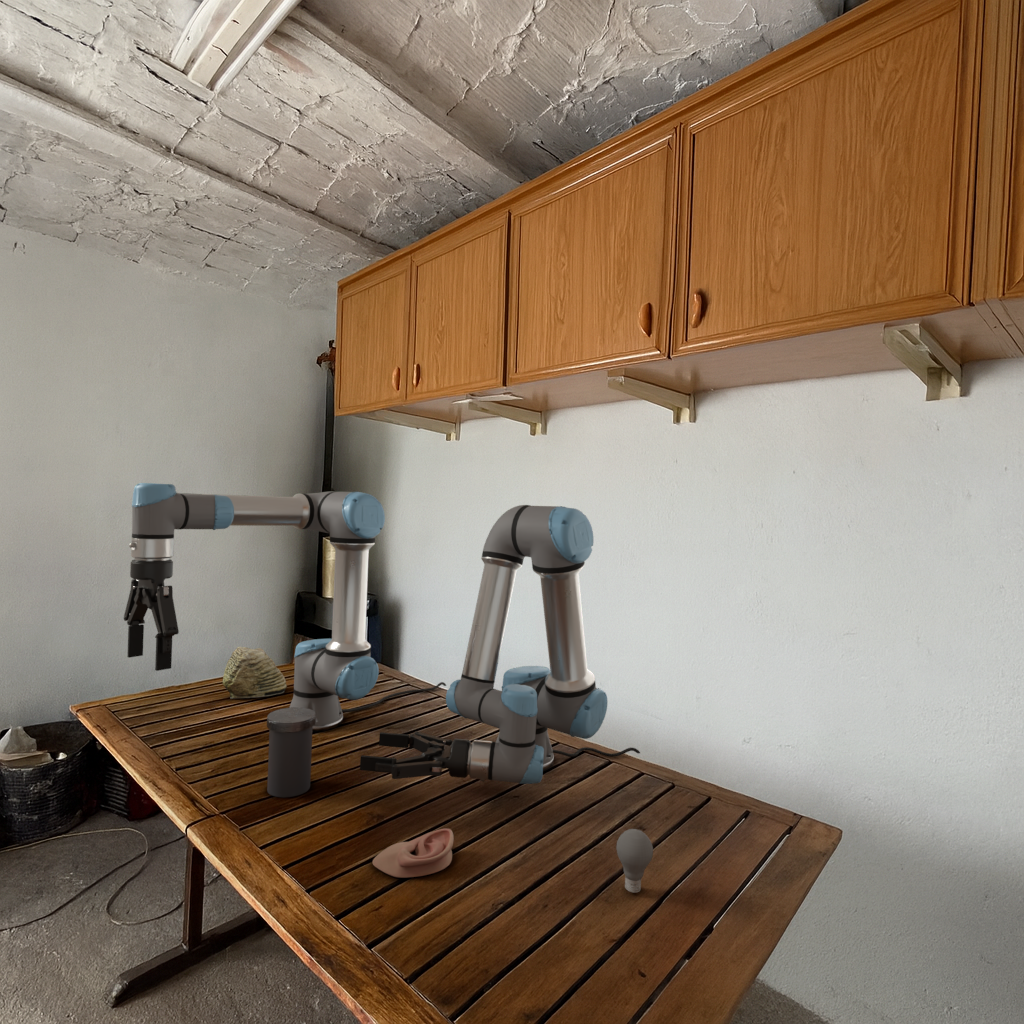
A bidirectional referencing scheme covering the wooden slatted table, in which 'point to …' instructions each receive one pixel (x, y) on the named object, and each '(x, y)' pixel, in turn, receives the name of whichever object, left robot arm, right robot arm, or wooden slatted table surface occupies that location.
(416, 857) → the anatomical model
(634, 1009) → the wooden slatted table surface
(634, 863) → the light bulb
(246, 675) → the fossil
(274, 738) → the jar
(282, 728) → the lid
